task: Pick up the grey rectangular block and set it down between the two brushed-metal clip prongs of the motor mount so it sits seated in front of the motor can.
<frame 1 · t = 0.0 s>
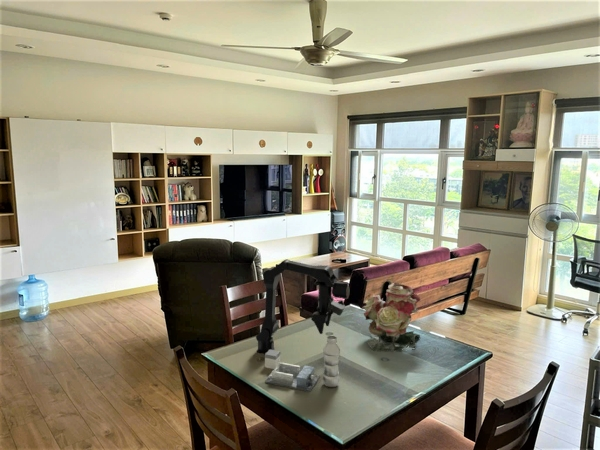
hand: (324, 329, 191), 15 cm above the table, fingers open, 9 cm apart
grey rectangular block: (272, 365, 189), on the table
motor mount: (291, 379, 178), on the table
rose bouquet: (390, 343, 213), on the table
plastic bottle: (330, 385, 174), on the table
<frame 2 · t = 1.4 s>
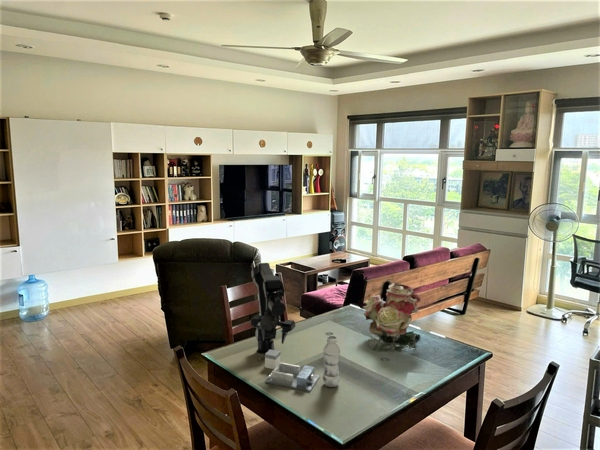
hand: (272, 341, 187), 11 cm above the table, fingers open, 9 cm apart
nothing on the table moved.
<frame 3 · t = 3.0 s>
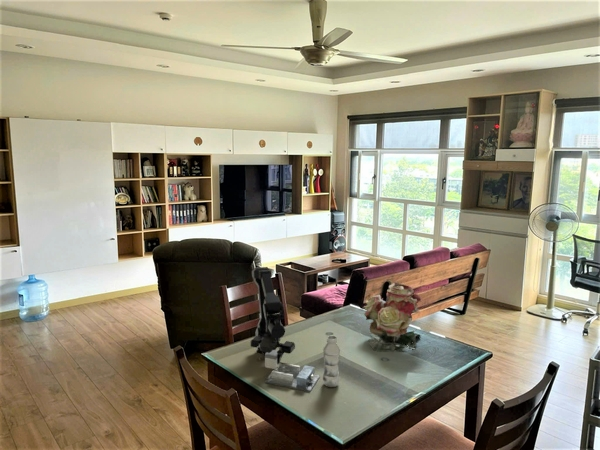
hand: (272, 362, 189), 1 cm above the table, fingers closed on grey rectangular block, 5 cm apart
grey rectangular block: (272, 365, 189), on the table, touching gripper
everything else where it was.
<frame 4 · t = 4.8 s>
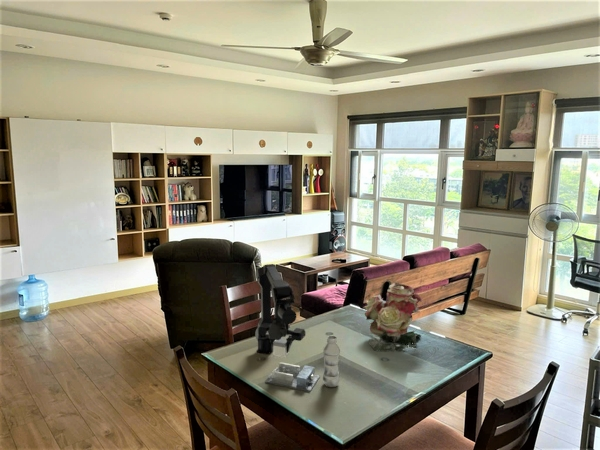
hand: (281, 351, 177), 11 cm above the table, fingers closed on grey rectangular block, 5 cm apart
grey rectangular block: (281, 354, 177), point 10 cm above the table, touching gripper
everything else where it was.
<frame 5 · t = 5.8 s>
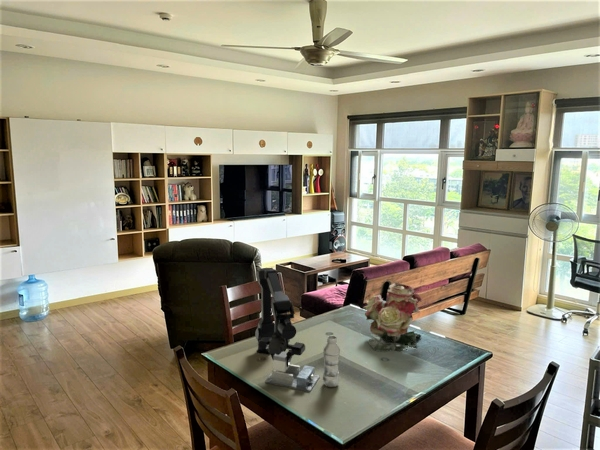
hand: (281, 365, 178), 5 cm above the table, fingers closed on grey rectangular block, 5 cm apart
grey rectangular block: (281, 368, 178), point 4 cm above the table, touching gripper
everything else where it was.
when the fingers open (3 cm above the table, at t = 6.6 s): grey rectangular block drops 1 cm, resting on motor mount.
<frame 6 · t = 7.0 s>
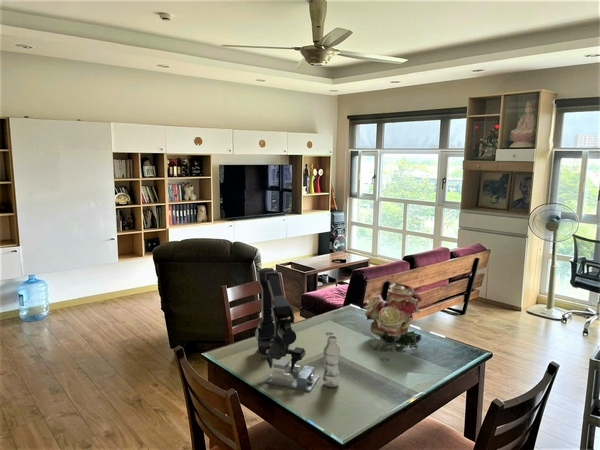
hand: (281, 370, 179), 3 cm above the table, fingers open, 9 cm apart
grey rectangular block: (281, 375, 179), point 1 cm above the table, touching motor mount
everything else where it was.
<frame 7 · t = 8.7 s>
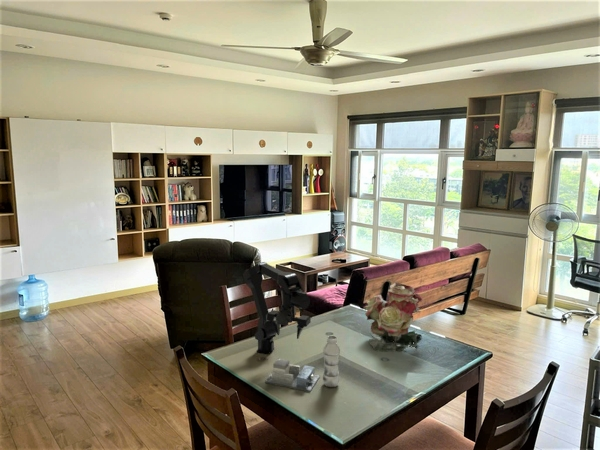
hand: (288, 336, 190), 12 cm above the table, fingers open, 9 cm apart
nothing on the table moved.
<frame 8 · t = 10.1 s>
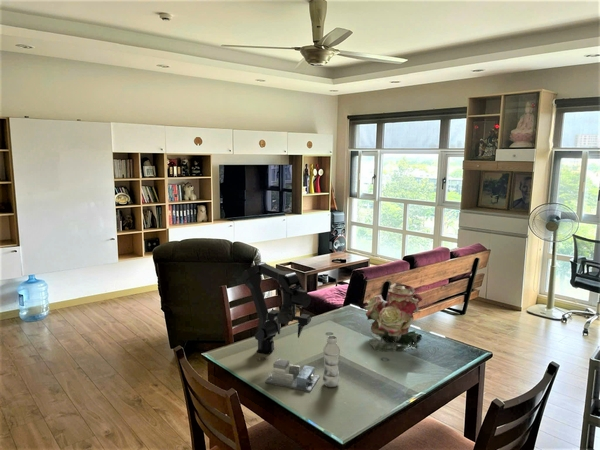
hand: (288, 335, 191), 12 cm above the table, fingers open, 9 cm apart
nothing on the table moved.
at the end: grey rectangular block 0.2 cm from the target spot on the motor mount, point 0.8 cm above the motor mount's base; grey rectangular block tilted 0°; the gripper is holding nothing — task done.
